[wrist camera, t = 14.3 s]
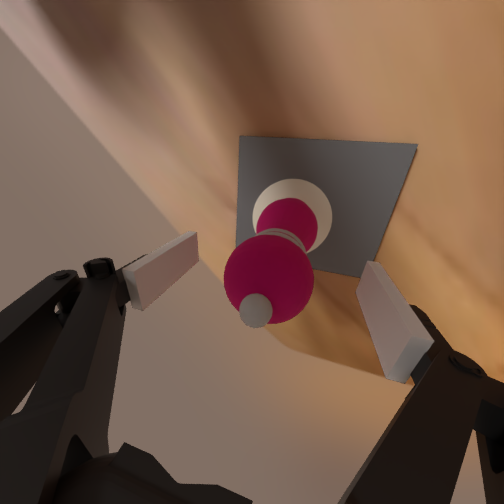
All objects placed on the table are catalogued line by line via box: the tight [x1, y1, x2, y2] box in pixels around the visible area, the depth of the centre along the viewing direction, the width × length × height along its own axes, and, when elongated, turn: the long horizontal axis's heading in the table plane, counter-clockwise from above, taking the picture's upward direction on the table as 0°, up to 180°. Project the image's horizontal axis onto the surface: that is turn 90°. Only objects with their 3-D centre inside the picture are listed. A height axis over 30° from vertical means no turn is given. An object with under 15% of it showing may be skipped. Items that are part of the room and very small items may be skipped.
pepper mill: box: [224, 198, 318, 328], centre depth 18 cm, size 7×7×20 cm
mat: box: [236, 136, 418, 278], centre depth 26 cm, size 20×17×1 cm
